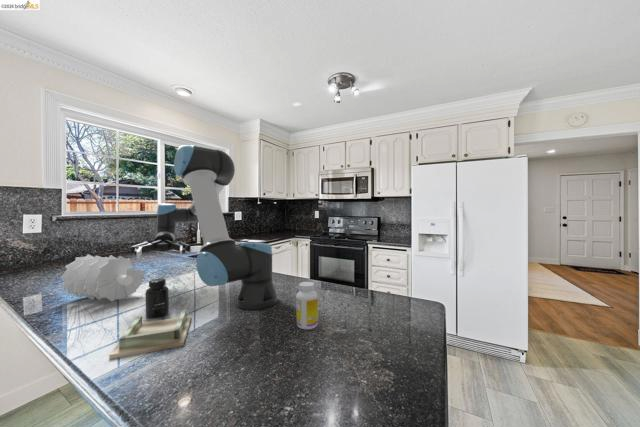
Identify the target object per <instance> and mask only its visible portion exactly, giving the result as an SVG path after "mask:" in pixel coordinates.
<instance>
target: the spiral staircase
mask: <svg viewBox="0 0 640 427" xmlns="http://www.w3.org/2000/svg"><path fill="white" fill-rule="evenodd" d="M74 259H75V260H74V261H72V262H70V263H69V264H67V265H65V269H66V270H65V272H63V274H62V275H61V277H60V280H63V284H62V285H63V286H62V291H63V290H64V291H65V290H66V293H67V296H68V295H71V294H72V295H74V296H76V297H77V298H80V299H81V298H82V297H83V296H84V297H85V298H88V299H90V300H92V301H93V300H94V299H95V298H96V299H98V300H99V301H100V300H102V299H107V300H109V301H111V302H114V301H115V300H125V299H126V298H127V297H129V296H131V295H133V294H134V293H137V290H138V289H139V287H140V286H141V285H142V284H143V283H144V278H145V274H146V270H145V269H131V268H133V267H134V266H133V263H132V261H131V259H130V258H126V257H123V256H122V255H119V256H118V257H117V258H116V257H115V256H114V255H112V254H110V255H109V256H108V257H107V256H105V257H102V256H99V255H95V256H93V255H91V254H89V253H88V254H86V255H85V256H79V257H77V256H76V257H75V258H74Z"/></svg>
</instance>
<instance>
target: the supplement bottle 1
mask: <svg viewBox="0 0 640 427" xmlns="http://www.w3.org/2000/svg"><path fill="white" fill-rule="evenodd" d="M144 297H145V317H146V318H148V319H157V318H162V317H165V316H166V315H168V314H169V312H170V290H169V287H168V286H167V285H166V279H165V278H161V277H160V278H154V279H150V280H148V288H147V289H146V291H145V296H144ZM164 315H165V316H164Z"/></svg>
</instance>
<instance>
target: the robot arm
mask: <svg viewBox="0 0 640 427" xmlns="http://www.w3.org/2000/svg"><path fill="white" fill-rule="evenodd" d="M173 171H174V174H175V175H177V176H179V177H181V176H182V178H183V183H184V184H185V185H187V186H189V189H190V193H191V198H192V203H191V204H190V206H189V207H177V205H176V204H175V203H163V202H162V203H159V204H158V205H157V213H156V236H155V238H154V240H153V241H152V242H148V240H145V241H142V242H140V243H138V244H135V245H134V244H133V245H132V246H130V254H134V256H136V257H135V258H136V260H139V259H140V258H141V256H142V254H143V253H146V252H151V251H153V252H155V251H158V252H168V251H177V252H179V258H183V254H185V253H186V252H191V244H188V243H185V242H184V241H183V240H179V241H177V242H175V240H176V237H177V236H176V234H177V233H176V224H188V223H189V224H190V223H192V224H193V223H198V227H199V230H200V231H199V232H200V233H201V239H202V243H203V245H201V246H202V247H200V248H199V249H200V253H198V255H196V256H197V257H196V259H195V262H196V266H195V267H196V271H197V274H198V276H199V278H200V280H201V281H202V282H203V283H204V284H205V285H206V286H208V287H217V286H224V285H226V284H230V283H234V282H238V281H241V282H240V287H239V290H238V294H237V296H236V306H237V308H240V309H242V310H251V311H254V310H256V311H257V310H262V309H267V308H270V307H273V306H274V305H275V304H277V303H278V293H277V290H276V288H275V285H274V282H273V281H274V280H273V249H272V246H271V244H269V243H265V242H252V241H243V242H240V245H239V247H237V245H236V241H235V239H232V238H231V237H230V236H229V232H228V228H227V224H226V220H225V218H224V213H223V210H222V206H221V202H220V199H219V195H220V193H221V191H222V190H224V188H225V187H226V186H228V185H229V184H230V183H231V182H232V180H233V178H234V176H235V171H236V170H235V162H234V161H233V159H232V158H231V156H230V155H229V154H228V153H226V152H225V151H223V150H221V149H214V148H208V147H203V146H197V145H194V144H191V145H190V144H182V145H180V146H179V147H178V148H177V150H176V152H175V155H174V160H173Z"/></svg>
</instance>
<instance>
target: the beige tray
mask: <svg viewBox="0 0 640 427" xmlns="http://www.w3.org/2000/svg"><path fill="white" fill-rule="evenodd" d="M191 322H192V315H188V314H187V309H183V310H181V313H180V315H179V317H173V318H165V319H160V320H158V319H157V320H151V321H145V322H144V321H143V315H140V316H139V315H138V316H136V317H135V319H134V320H133V321H132V323H131V324H130V325H129V326H128V327H127V329H126V330H125V332H123V334H122V335H121V336H120V337H119V338H118V343H117V344H116V345H115V347H114V348H113V350H111V352H110V353H109V354H108V356H109V358H108V359H109V360H111V359H117V358H121V357H123V358H124V357H129V356H134V355H140V354H145V353H149V352H150V353H151V352H156V351H157V352H158V351H162V350H167V349H173V348H179V347H184V345H185V341H186V338H187V335H188V331H189V330H190V325H191Z"/></svg>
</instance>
